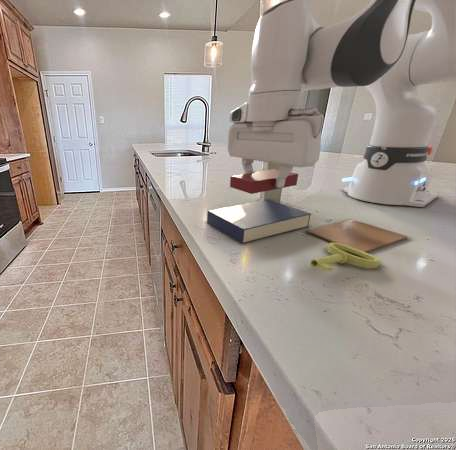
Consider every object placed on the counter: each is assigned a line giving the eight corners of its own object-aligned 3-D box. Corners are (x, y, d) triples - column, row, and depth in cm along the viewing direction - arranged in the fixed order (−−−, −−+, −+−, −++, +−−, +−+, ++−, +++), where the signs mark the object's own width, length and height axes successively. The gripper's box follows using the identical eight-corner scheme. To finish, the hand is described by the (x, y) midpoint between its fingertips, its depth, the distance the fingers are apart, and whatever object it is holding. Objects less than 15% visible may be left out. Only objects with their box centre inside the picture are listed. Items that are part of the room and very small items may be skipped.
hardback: (265, 210, 63) (267, 199, 62) (308, 226, 53) (311, 213, 52) (206, 222, 57) (207, 210, 56) (242, 243, 47) (243, 229, 46)
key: (306, 272, 37) (309, 260, 36) (330, 245, 45) (333, 235, 44) (365, 294, 32) (370, 280, 31) (381, 260, 40) (386, 248, 39)
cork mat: (350, 220, 55) (351, 219, 55) (406, 238, 46) (407, 236, 46) (306, 232, 50) (307, 230, 50) (360, 254, 42) (361, 252, 41)
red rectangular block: (271, 179, 56) (273, 169, 56) (296, 185, 51) (298, 173, 50) (229, 187, 52) (230, 175, 51) (251, 194, 47) (252, 181, 46)
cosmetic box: (279, 207, 65) (287, 160, 60) (262, 206, 66) (268, 160, 61) (274, 200, 71) (280, 157, 66) (257, 199, 72) (263, 157, 67)
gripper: (339, 106, 38) (320, 191, 44) (247, 112, 56) (241, 173, 61) (310, 107, 36) (294, 197, 41) (224, 114, 54) (221, 176, 59)
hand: (262, 182), depth 51 cm, fingers closed on red rectangular block, 6 cm apart
